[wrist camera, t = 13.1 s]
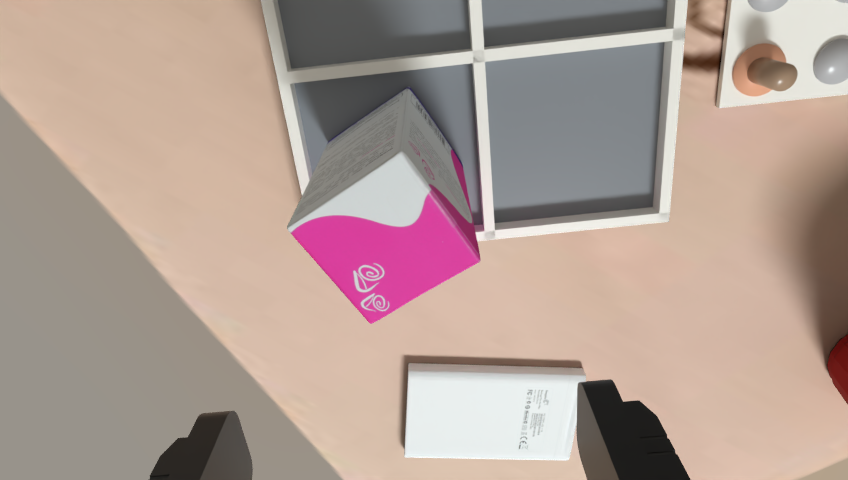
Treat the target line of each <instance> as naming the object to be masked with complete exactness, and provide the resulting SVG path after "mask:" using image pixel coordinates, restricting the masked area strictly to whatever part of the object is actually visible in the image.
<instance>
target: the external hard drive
mask: <svg viewBox="0 0 848 480" xmlns="http://www.w3.org/2000/svg"><path fill="white" fill-rule="evenodd" d="M579 382H586V374H585V372H584V370H583V368H564V367H532V366H498V365H464V364H430V363H408V384H407V406H406V429H405V450H404V457H416V458H468V459H519V460H569V458H570V453H571V448H572V443H573V438H574V433H575V429H576V424H577V387H578V383H579Z"/></svg>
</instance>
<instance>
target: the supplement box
mask: <svg viewBox="0 0 848 480" xmlns="http://www.w3.org/2000/svg"><path fill="white" fill-rule="evenodd" d="M287 229H288V231H289V232H290V233H291V234H292V235H293V236H294V237H295V239H296V240H297V241H298V242H299V243H300V244H301V245H302V247H303V248H304V249H305V250H306V251H307V252H308V253H309V254H310V256H311V257H312V258H313V259H314V260H315V261H316V262H317V264H318V265H319V266H320V267H321V268H322V269H323V270H324V272H325V273H326V274H327V275H328V276H329V277H330V278H331V280H332V281H333V282H334V283H335V284H336V285H337V286H338V287H339V289H340V290H341V291H342V292H343V293H344V294H345V296H346V297H347V298H348V299H349V300H350V301H351V302H352V304H353V305H354V306H355V307H356V308H357V309H358V310H359V312H360V313H361V314H362V315H363V316H364V317H365V318H366V320H367V321H368V322H369V323H370V324H372V323H374V322H376V321H378V320H380V319H381V318H383V317H385V316H386V315H388V314H390V313H392V312H393V311H395V310H397V309H398V308H400V307H401V306H403V305H405V304H406V303H408V302H409V301H411V300H413V299H415V298H416V297H418V296H420V295H421V294H423V293H425V292H427V291H428V290H430V289H432V288H434V287H436V286H437V285H439V284H441V283H443V282H444V281H446V280H448V279H450V278H452V277H453V276H455V275H457V274H459V273H461V272H462V271H464V270H466V269H468V268H469V267H471V266H473V265H475V264H477V263H479V262H480V254H479V248H478V243H477V238H476V232H475V227H474V222H473V217H472V212H471V207H470V202H469V197H468V191H467V185H466V180H465V175H464V170H463V165H462V163H461V161H460V159H459V158H458V156H457V154H456V153H455V151H454V150H453V148H452V147H451V145H450V144H449V142H448V141H447V139H446V138H445V136H444V135H443V133H442V132H441V130H440V129H439V127H438V126H437V125H436V123H435V122H434V120H433V119H432V117H431V116H430V114H429V113H428V111H427V110H426V109H425V107H424V106H423V104H422V103H421V101H420V100H419V99H418V97H417V96H416V94H415V93H414V92H413V90H412V89H411V87H410V86H408V87H407V88H405V89H404V90H402V91H400V92H399V93H398V94H396V95H395V96H393V97H392V98H390V99H389V100H388V101H386V102H385V103H383V104H382V105H380V106H379V107H377V108H376V109H374V110H373V111H371V112H370V113H368V114H367V115H366V116H364V117H363V118H361V119H360V120H358V121H357V122H355V123H354V124H353V125H351V126H350V127H348V128H347V129H345V130H344V131H342V132H341V133H339V134H338V135H337V136H335V137H334V138H332V139H331V140H330V141H328V143H327V146H326V148H325V150H324V152H323V154H322V156H321V158H320V161H319V163H318V165H317V167H316V169H315V171H314V172H313V175H312V177H311V179H310V181H309V183H308V185H307V187H306V189H305V191H304V193H303V195H302V197H301V199H300V201H299V204H298V206H297V208H296V210H295V212H294V214H293V216H292V218H291V220H290V222H289V224H288V226H287Z"/></svg>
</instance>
